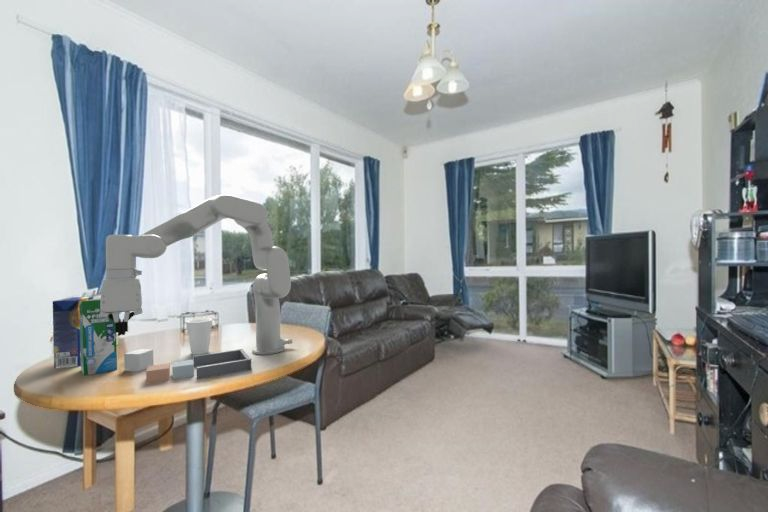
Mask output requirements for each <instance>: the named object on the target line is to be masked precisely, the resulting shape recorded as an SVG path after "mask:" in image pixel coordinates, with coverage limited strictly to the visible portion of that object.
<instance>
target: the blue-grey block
mask: <svg viewBox="0 0 768 512" xmlns="http://www.w3.org/2000/svg"><path fill="white" fill-rule="evenodd" d="M171 368H172V380H176V379H182V378H190V377H194V375H195V366H194V362H193V359H187V360H181V361H174V362H172V367H171Z"/></svg>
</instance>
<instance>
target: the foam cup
mask: <svg viewBox="0 0 768 512" xmlns="http://www.w3.org/2000/svg"><path fill="white" fill-rule="evenodd" d="M185 323H186V326H185V327H186V330H187V336H188V341H189V342H188V343H189V348H190V353H191V355H203V354H208V353H209V350H210V343H211V336H212V326H213V318H208V317H206V318H193V319H188V320H186V322H185Z"/></svg>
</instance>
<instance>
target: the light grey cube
mask: <svg viewBox="0 0 768 512" xmlns="http://www.w3.org/2000/svg"><path fill="white" fill-rule="evenodd" d="M123 355H124V364H123V365H124V371H127V372H142V371H144V370H147V368H148V366H153V365H154V349H150V348H149V349H142V348H141V349H140V348H139V349H138V348H137V349H134V350H132V351H128V352H126V353H123Z"/></svg>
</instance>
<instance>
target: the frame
mask: <svg viewBox="0 0 768 512" xmlns="http://www.w3.org/2000/svg"><path fill="white" fill-rule="evenodd" d="M192 358H193V359H192V360H193V362H194V367H196V379H197V380H198V379H203V378H210V377H216V376H223V375H228V374H232V373H234V374H235V373H239V372H240V373H241V372H245V371H249V370H250V371H251V370H252V358H251V357H250V356H249V355H248V353H246V351H245V350H244V349H243V348H239V349H233V350H231V349H230V350H226V351H219V352H217V351H216V352H211V353H204V354H195V355H193V356H192Z"/></svg>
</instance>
